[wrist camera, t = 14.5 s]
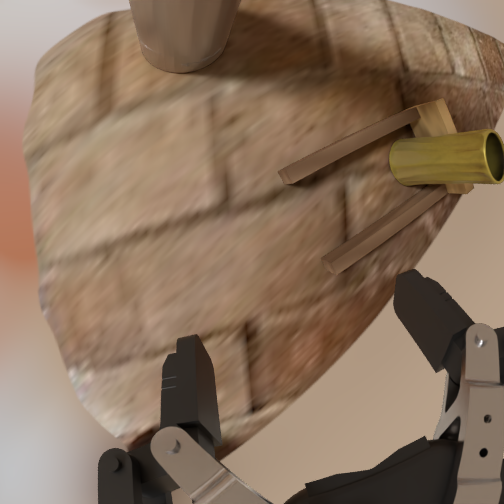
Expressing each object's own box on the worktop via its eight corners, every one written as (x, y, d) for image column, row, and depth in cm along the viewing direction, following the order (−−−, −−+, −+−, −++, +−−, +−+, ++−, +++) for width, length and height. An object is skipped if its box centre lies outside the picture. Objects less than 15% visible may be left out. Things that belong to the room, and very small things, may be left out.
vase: (420, 144, 32) (507, 134, 19) (420, 188, 33) (509, 193, 20) (387, 134, 31) (479, 116, 17) (387, 182, 32) (483, 183, 18)
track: (277, 171, 29) (299, 166, 23) (412, 106, 31) (443, 98, 25) (326, 269, 32) (353, 284, 26) (442, 186, 34) (473, 187, 28)
